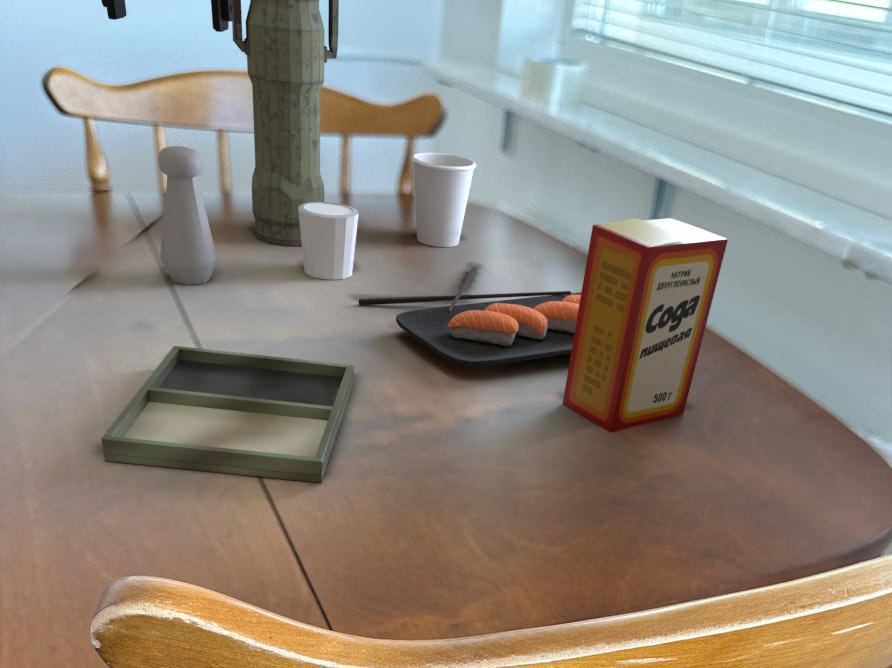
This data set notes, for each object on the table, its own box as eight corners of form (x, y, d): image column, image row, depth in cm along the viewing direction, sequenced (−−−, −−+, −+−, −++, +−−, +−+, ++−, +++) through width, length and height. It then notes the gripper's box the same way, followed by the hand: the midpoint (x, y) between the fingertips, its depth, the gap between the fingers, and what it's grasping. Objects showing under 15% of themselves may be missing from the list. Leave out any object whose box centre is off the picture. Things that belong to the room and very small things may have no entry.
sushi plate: (458, 385, 86) (462, 344, 84) (317, 284, 105) (317, 249, 103) (682, 349, 101) (691, 314, 98) (523, 266, 119) (527, 235, 117)
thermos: (234, 226, 120) (217, -121, 99) (323, 226, 124) (324, -106, 103) (250, 246, 114) (234, -119, 92) (343, 246, 118) (348, -103, 97)
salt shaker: (168, 268, 104) (156, 139, 96) (221, 273, 105) (212, 145, 97) (158, 285, 99) (144, 151, 91) (212, 289, 100) (203, 156, 92)
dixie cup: (394, 235, 125) (398, 153, 118) (441, 229, 129) (447, 150, 123) (434, 252, 120) (440, 168, 114) (481, 246, 125) (489, 165, 119)
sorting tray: (104, 461, 68) (100, 438, 67) (175, 365, 83) (173, 345, 82) (321, 483, 69) (321, 461, 68) (353, 384, 84) (354, 365, 83)
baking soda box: (634, 387, 91) (672, 213, 81) (683, 414, 87) (729, 234, 77) (562, 403, 86) (593, 220, 76) (610, 432, 82) (649, 242, 72)
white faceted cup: (368, 272, 111) (370, 209, 106) (337, 285, 106) (338, 220, 101) (319, 259, 113) (319, 197, 108) (286, 272, 107) (285, 207, 103)
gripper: (20, -243, 73) (60, 17, 83) (240, -216, 73) (253, 39, 84) (57, -231, 79) (90, 10, 89) (261, -206, 79) (270, 31, 90)
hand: (169, 24), depth 87 cm, fingers open, 9 cm apart
